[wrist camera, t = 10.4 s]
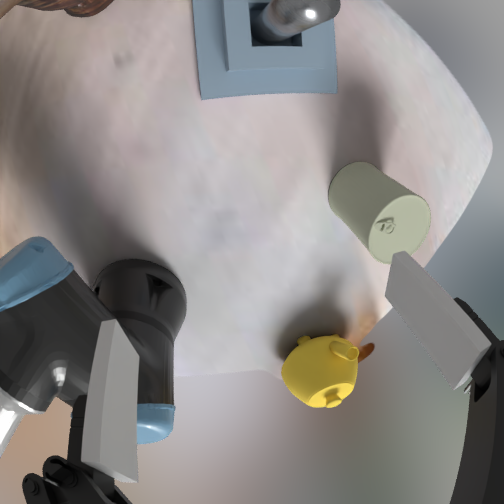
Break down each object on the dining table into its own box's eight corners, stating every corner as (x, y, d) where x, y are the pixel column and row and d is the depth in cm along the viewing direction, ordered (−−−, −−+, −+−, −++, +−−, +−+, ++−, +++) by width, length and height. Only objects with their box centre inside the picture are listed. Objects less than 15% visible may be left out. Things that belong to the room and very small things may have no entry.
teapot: (295, 307, 49) (320, 372, 38) (367, 306, 53) (399, 359, 42) (269, 372, 60) (283, 427, 48) (331, 367, 63) (350, 415, 52)
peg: (252, 45, 26) (287, 20, 14) (249, 14, 23) (282, -28, 12) (287, 44, 26) (342, 25, 14) (284, 14, 24) (337, -21, 12)
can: (339, 154, 35) (390, 186, 26) (391, 170, 38) (444, 205, 28) (319, 215, 40) (357, 264, 30) (370, 224, 42) (413, 270, 32)
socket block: (201, 99, 29) (201, 101, 25) (191, -21, 20) (190, -35, 17) (333, 93, 31) (350, 95, 27) (326, -19, 22) (341, -29, 18)
